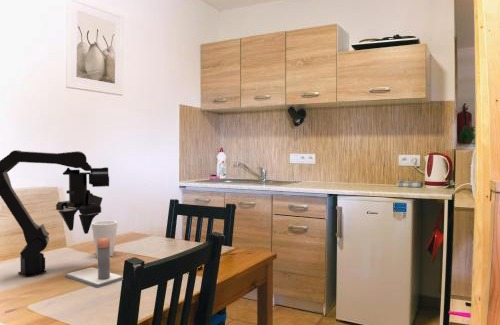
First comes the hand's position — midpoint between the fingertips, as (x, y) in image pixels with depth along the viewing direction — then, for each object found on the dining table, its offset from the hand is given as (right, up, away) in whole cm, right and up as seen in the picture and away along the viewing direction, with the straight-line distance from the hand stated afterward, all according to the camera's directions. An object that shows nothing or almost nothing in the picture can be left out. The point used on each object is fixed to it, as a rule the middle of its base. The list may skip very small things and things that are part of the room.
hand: (78, 231), depth 140 cm
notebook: (+9, -13, -9) cm, 19 cm away
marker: (+13, -13, -12) cm, 22 cm away
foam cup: (+3, -13, +18) cm, 22 cm away
